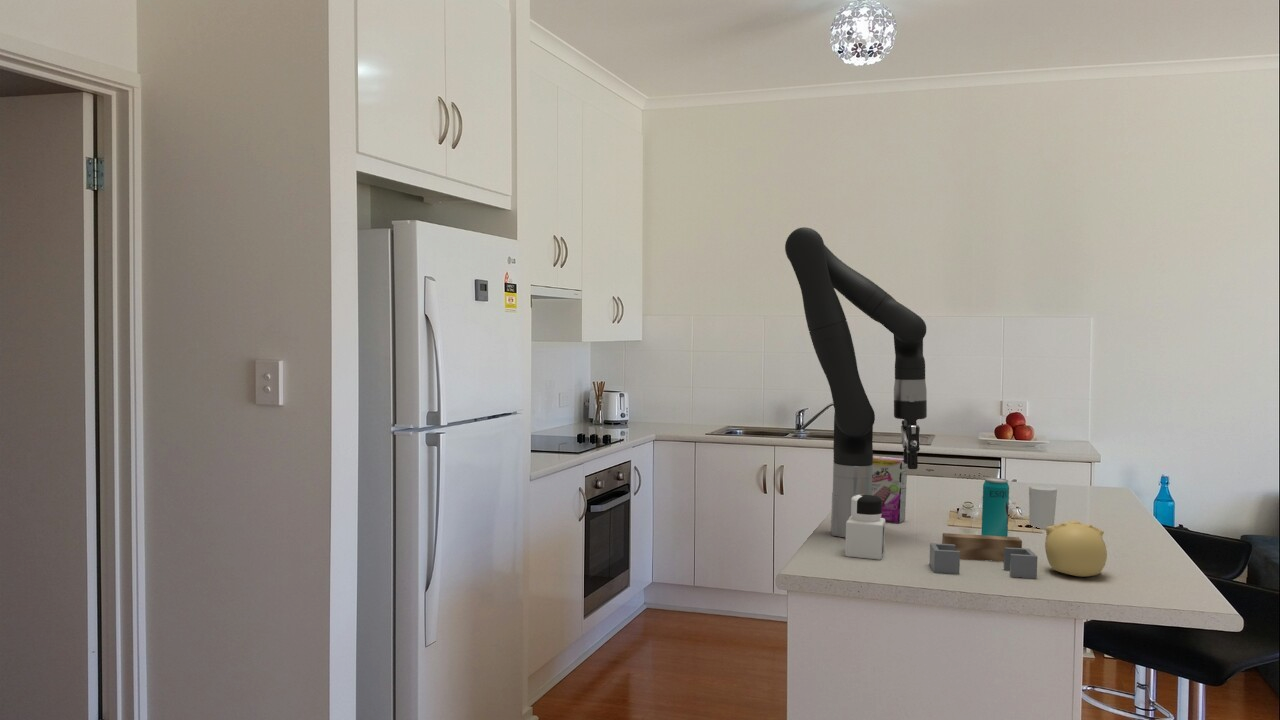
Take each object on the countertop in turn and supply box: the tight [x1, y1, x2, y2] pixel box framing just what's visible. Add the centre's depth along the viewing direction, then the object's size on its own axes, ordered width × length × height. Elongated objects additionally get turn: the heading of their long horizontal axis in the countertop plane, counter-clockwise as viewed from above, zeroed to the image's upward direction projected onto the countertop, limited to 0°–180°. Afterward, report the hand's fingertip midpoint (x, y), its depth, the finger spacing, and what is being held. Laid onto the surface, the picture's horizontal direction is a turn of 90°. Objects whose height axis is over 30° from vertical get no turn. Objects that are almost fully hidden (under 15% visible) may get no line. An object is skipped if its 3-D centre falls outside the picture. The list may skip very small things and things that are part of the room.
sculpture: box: [1044, 520, 1108, 577], centre depth 199 cm, size 11×12×11 cm
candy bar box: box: [872, 455, 908, 524], centre depth 251 cm, size 11×5×16 cm, turn 58°
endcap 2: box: [1003, 547, 1038, 579], centre depth 198 cm, size 5×7×4 cm
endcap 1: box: [929, 542, 961, 575], centre depth 200 cm, size 5×7×4 cm
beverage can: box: [980, 477, 1010, 537], centre depth 226 cm, size 6×6×15 cm
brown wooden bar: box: [941, 532, 1023, 562], centre depth 210 cm, size 16×4×5 cm, turn 81°
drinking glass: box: [1028, 485, 1058, 530], centre depth 246 cm, size 7×7×10 cm
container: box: [844, 495, 886, 561], centre depth 211 cm, size 8×8×13 cm
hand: (910, 466), depth 229 cm, fingers open, 8 cm apart
